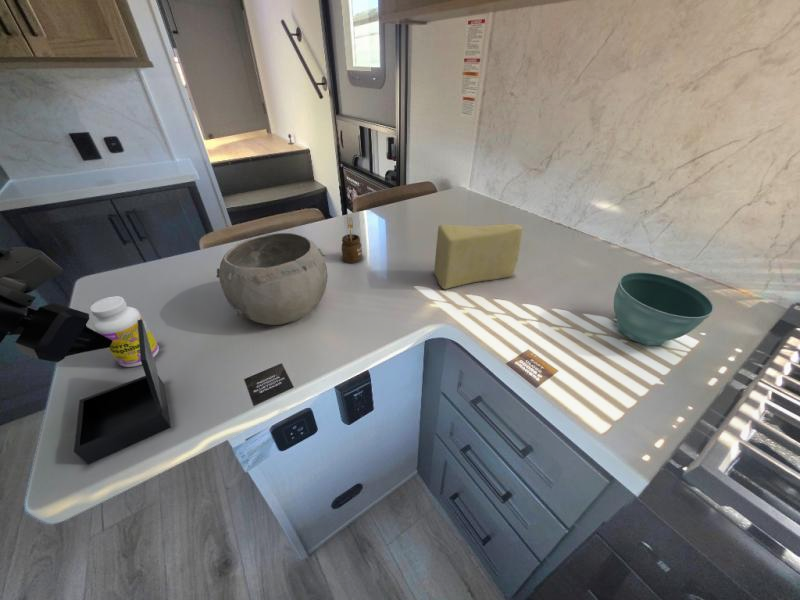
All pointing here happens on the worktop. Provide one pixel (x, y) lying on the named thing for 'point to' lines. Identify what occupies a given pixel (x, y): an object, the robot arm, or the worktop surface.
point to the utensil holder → (351, 246)
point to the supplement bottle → (121, 329)
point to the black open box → (118, 419)
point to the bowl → (274, 278)
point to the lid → (149, 366)
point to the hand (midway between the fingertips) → (88, 336)
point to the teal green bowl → (658, 307)
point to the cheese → (476, 253)
